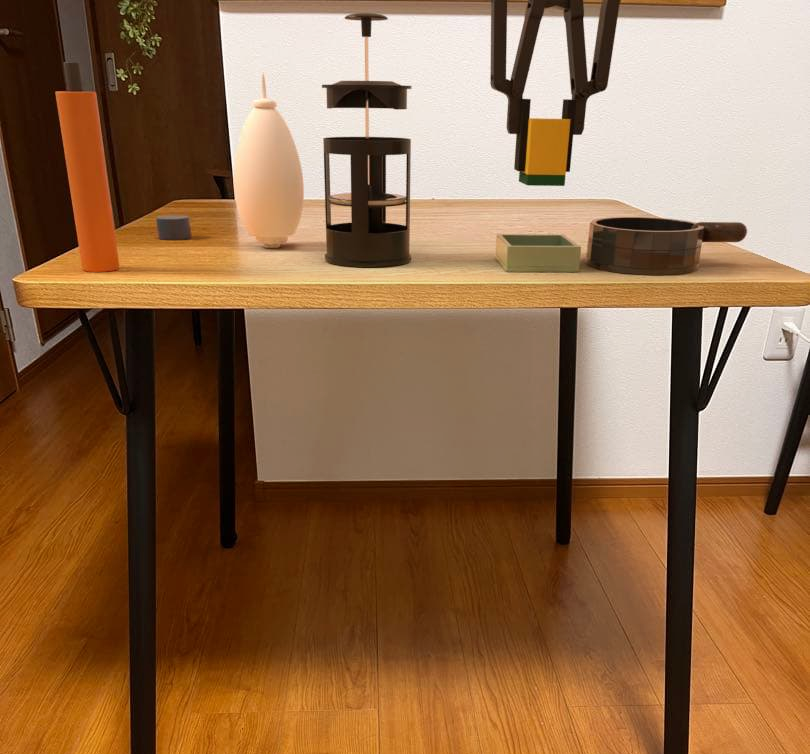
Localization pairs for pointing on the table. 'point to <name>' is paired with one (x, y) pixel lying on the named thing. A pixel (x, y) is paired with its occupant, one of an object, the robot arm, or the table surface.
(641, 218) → the pan
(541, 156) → the sponge
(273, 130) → the air blower bulb
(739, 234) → the pan handle
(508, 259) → the sponge dish
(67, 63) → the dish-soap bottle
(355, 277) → the table surface
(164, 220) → the steel-wool tin
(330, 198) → the french press
